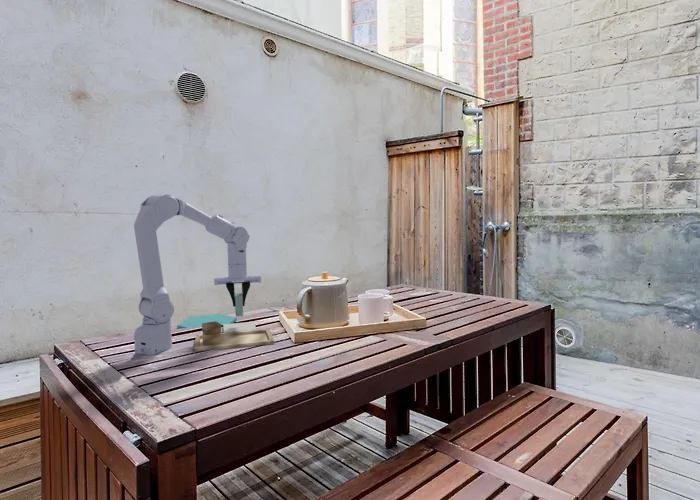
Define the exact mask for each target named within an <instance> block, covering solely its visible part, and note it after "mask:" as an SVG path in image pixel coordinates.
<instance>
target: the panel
mask: <svg viewBox="0 0 700 500" xmlns="http://www.w3.org/2000/svg"><path fill="white" fill-rule="evenodd" d="M234 294H235V307H234V311H235V312H234V313H235V317H237V318H238V317H244V306H243V296H242V291H238V292H237V291H236V292H235V291H234Z"/></svg>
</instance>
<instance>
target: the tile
mask: <svg viewBox="0 0 700 500" xmlns="http://www.w3.org/2000/svg"><path fill="white" fill-rule="evenodd" d="M222 326H223V333H225V332H236V331H248V330H257V327H256V323H255V321H249V322H248V321H247V322H236V323H235V322H234V323H233V324H223V325H222Z"/></svg>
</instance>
